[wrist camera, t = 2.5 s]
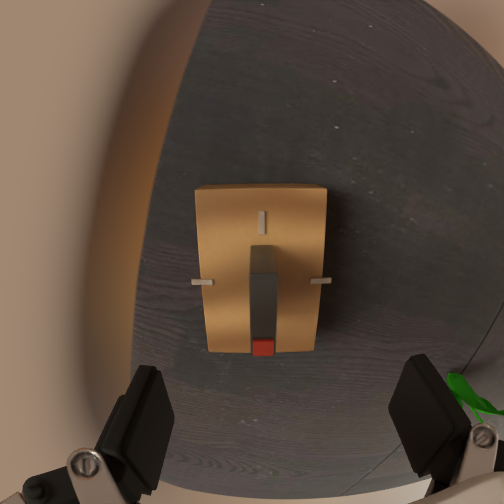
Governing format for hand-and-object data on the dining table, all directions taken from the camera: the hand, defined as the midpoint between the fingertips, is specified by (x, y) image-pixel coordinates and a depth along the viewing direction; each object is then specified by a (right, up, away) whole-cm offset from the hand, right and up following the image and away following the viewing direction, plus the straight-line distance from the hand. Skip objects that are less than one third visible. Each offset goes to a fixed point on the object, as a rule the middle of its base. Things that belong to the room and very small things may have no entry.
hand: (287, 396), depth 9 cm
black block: (-1, +3, +9) cm, 10 cm away
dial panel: (-1, +4, +12) cm, 13 cm away
